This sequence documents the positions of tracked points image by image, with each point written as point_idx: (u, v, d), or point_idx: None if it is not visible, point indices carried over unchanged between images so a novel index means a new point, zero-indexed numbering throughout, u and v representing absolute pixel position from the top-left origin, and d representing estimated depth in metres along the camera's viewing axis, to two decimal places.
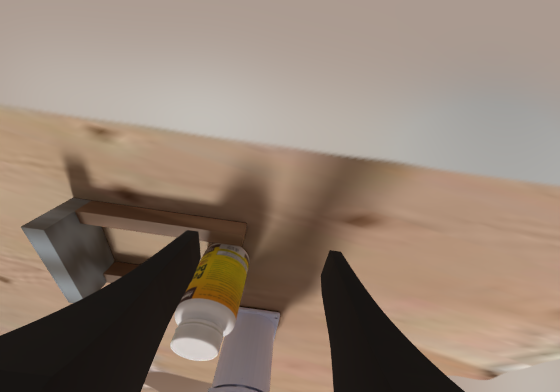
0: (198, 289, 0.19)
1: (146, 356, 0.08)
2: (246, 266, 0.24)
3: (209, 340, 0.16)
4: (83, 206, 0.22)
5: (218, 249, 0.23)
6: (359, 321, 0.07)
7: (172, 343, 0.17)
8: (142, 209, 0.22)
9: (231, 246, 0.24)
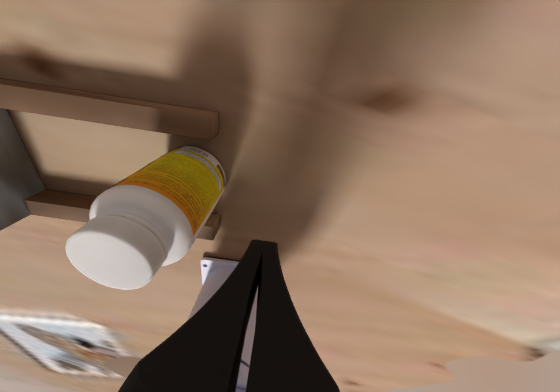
0: (129, 178, 0.12)
1: (238, 368, 0.08)
2: (219, 179, 0.17)
3: (130, 239, 0.09)
4: None
5: (177, 150, 0.16)
6: (258, 307, 0.07)
7: (67, 247, 0.09)
8: (64, 89, 0.15)
9: (197, 149, 0.16)
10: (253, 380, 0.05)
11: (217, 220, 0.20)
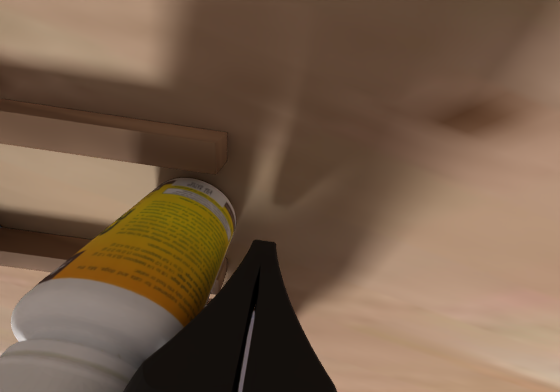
0: (84, 256, 0.07)
1: (241, 368, 0.08)
2: (228, 224, 0.12)
3: None
4: None
5: (169, 187, 0.11)
6: (256, 307, 0.07)
7: None
8: (6, 101, 0.11)
9: (197, 184, 0.12)
10: (250, 380, 0.05)
11: (224, 267, 0.16)
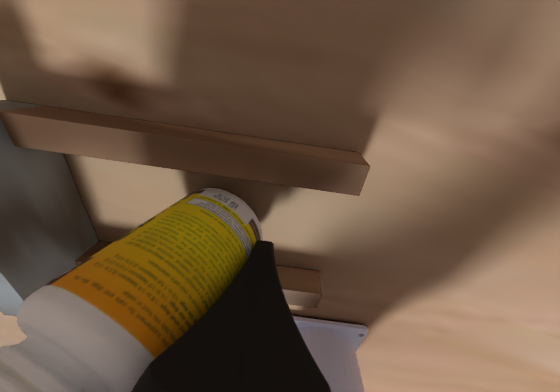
0: (87, 264, 0.07)
1: None
2: (250, 244, 0.11)
3: None
4: None
5: (196, 197, 0.11)
6: (252, 306, 0.07)
7: None
8: (147, 122, 0.11)
9: (224, 196, 0.11)
10: (244, 379, 0.05)
11: None
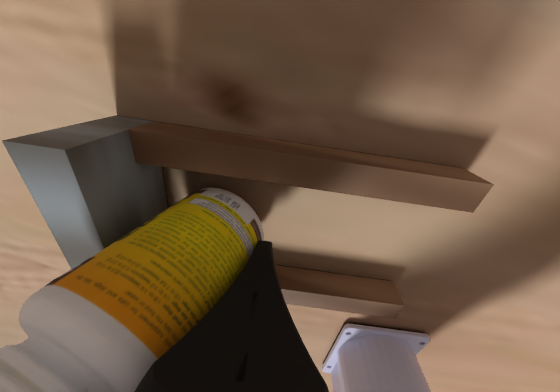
0: (89, 264, 0.07)
1: None
2: (251, 244, 0.11)
3: None
4: (142, 127, 0.10)
5: (197, 196, 0.11)
6: (250, 306, 0.07)
7: None
8: (259, 139, 0.11)
9: (226, 196, 0.11)
10: (241, 378, 0.05)
11: None
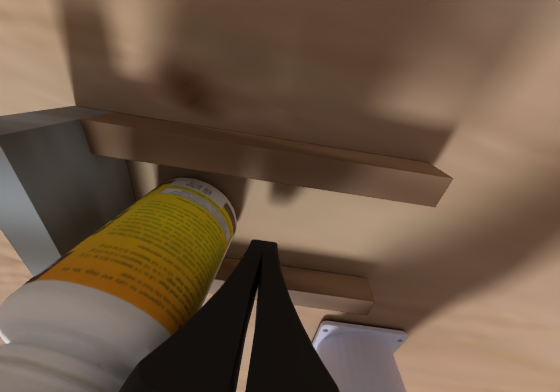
0: (71, 257, 0.07)
1: (238, 368, 0.08)
2: (227, 226, 0.11)
3: None
4: None
5: (167, 187, 0.11)
6: (258, 307, 0.07)
7: None
8: (220, 131, 0.11)
9: (196, 184, 0.11)
10: (253, 380, 0.05)
11: None
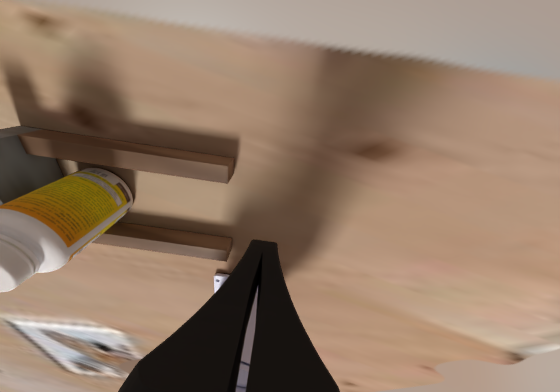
0: (9, 202, 0.14)
1: (238, 368, 0.08)
2: (117, 195, 0.19)
3: None
4: (31, 133, 0.18)
5: (77, 172, 0.18)
6: (258, 307, 0.07)
7: None
8: (105, 139, 0.18)
9: (97, 171, 0.19)
10: (253, 380, 0.05)
11: (230, 243, 0.23)
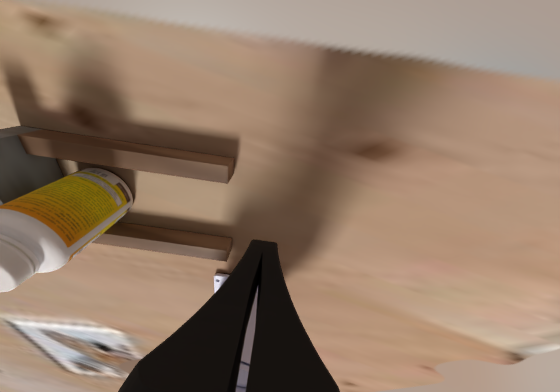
0: (9, 202, 0.14)
1: (238, 368, 0.08)
2: (117, 195, 0.19)
3: None
4: (31, 133, 0.18)
5: (77, 172, 0.18)
6: (258, 307, 0.07)
7: None
8: (105, 139, 0.18)
9: (97, 171, 0.19)
10: (253, 380, 0.05)
11: (230, 243, 0.23)
